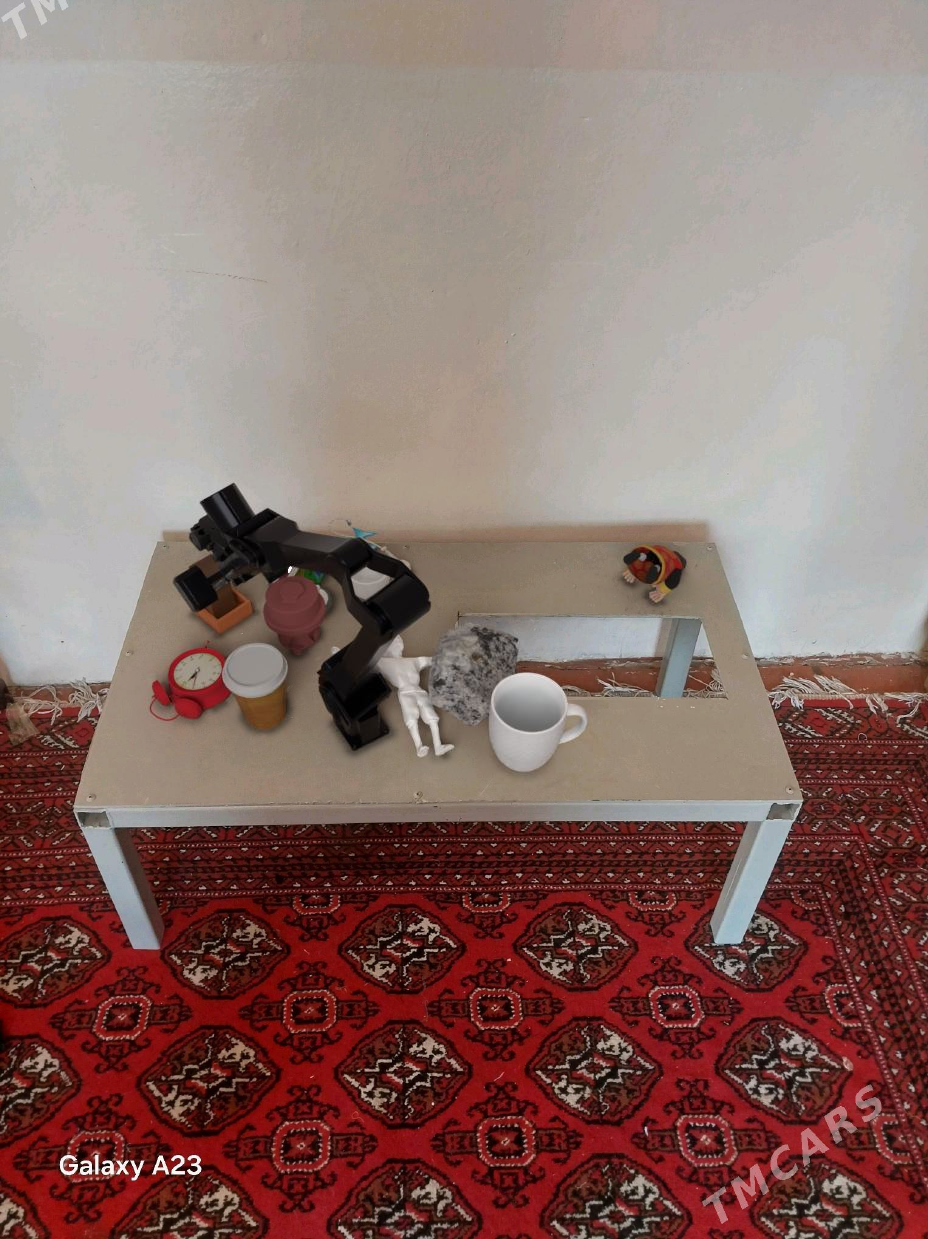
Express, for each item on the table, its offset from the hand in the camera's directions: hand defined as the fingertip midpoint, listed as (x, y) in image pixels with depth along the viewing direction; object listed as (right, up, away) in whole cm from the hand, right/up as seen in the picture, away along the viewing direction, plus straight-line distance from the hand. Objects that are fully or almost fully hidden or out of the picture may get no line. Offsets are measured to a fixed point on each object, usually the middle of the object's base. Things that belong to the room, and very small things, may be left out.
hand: (219, 573), depth 141 cm
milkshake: (+7, -2, +11) cm, 13 cm away
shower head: (+16, +12, +25) cm, 31 cm away
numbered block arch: (+11, +1, +16) cm, 20 cm away
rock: (+45, -13, -9) cm, 48 cm away
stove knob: (+13, -5, +11) cm, 18 cm away
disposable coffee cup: (+9, -22, -5) cm, 25 cm away
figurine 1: (+37, -25, -14) cm, 47 cm away
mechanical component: (+12, -11, +5) cm, 17 cm away
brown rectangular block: (-2, -6, +8) cm, 11 cm away
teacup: (+23, -2, +14) cm, 27 cm away
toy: (+23, +4, +18) cm, 30 cm away
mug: (+50, -28, -9) cm, 58 cm away
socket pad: (-2, -6, +9) cm, 11 cm away
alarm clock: (-3, -19, -2) cm, 20 cm away
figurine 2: (+69, +1, +7) cm, 70 cm away
